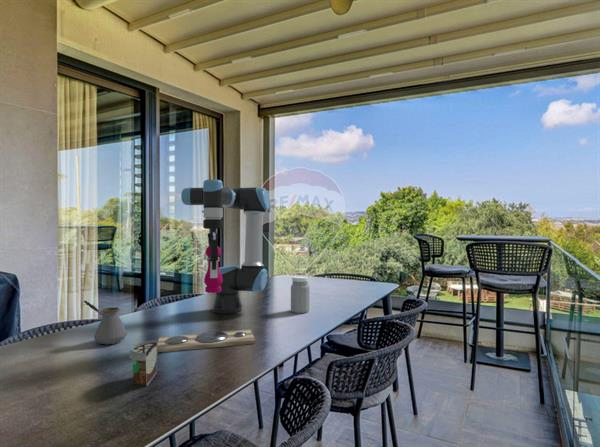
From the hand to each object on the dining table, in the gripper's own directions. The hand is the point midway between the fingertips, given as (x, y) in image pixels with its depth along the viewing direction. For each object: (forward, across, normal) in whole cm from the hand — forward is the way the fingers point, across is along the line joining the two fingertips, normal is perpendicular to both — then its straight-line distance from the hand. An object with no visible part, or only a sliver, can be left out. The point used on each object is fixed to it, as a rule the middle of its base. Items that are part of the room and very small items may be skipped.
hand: (213, 276), depth 148 cm
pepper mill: (+6, 0, 0) cm, 6 cm away
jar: (+25, -31, +46) cm, 61 cm away
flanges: (+24, +3, +3) cm, 24 cm away
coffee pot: (+26, -13, -42) cm, 51 cm away
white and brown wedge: (+26, +31, -23) cm, 46 cm away
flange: (+24, +2, -14) cm, 28 cm away
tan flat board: (+25, +2, -3) cm, 26 cm away
